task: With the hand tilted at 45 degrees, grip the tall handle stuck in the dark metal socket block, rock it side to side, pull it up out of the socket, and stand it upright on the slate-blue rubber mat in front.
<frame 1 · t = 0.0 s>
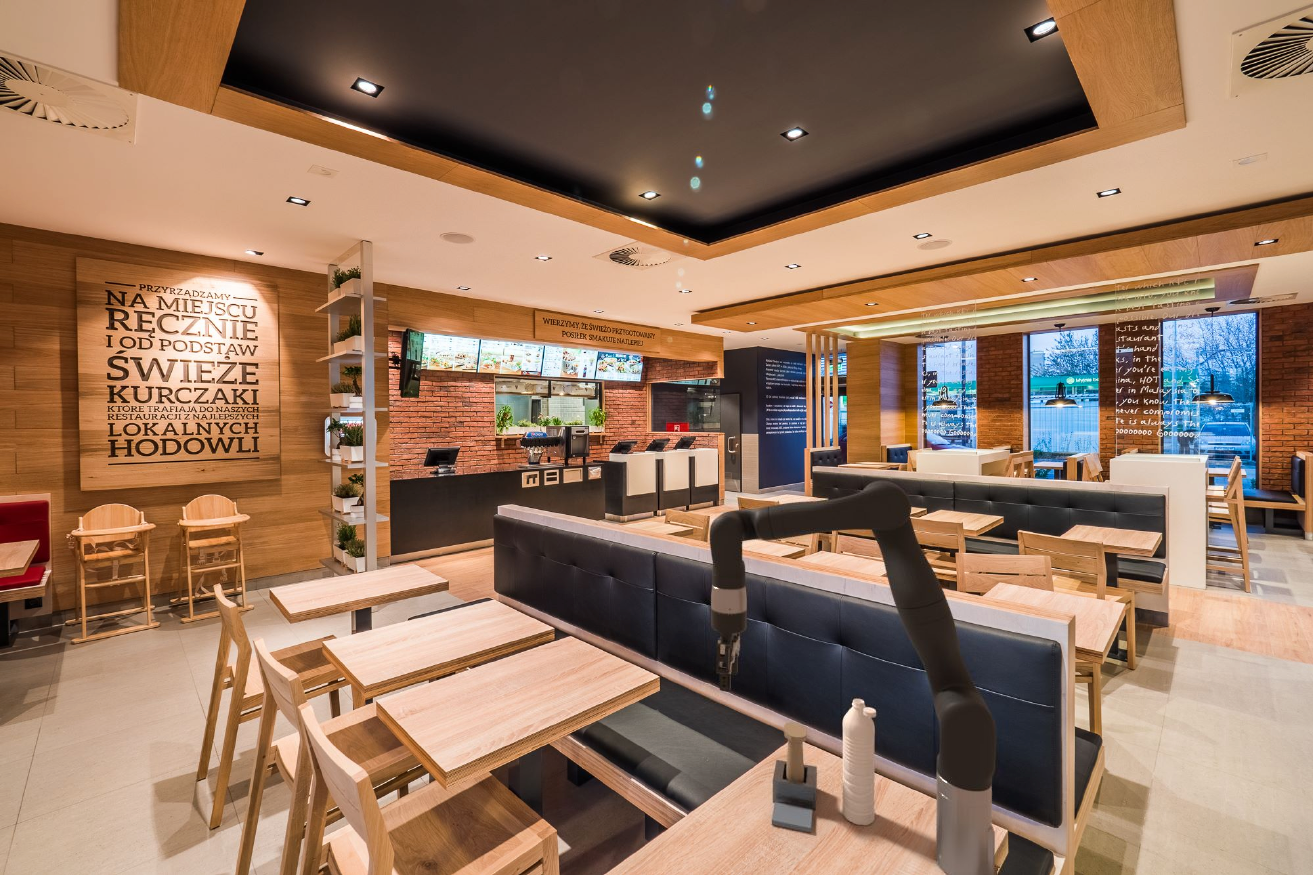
hand: (728, 681, 121), 29 cm above the table, tool pointing down, fingers open, 8 cm apart
handle: (795, 795, 129), resting in socket block
socket block: (795, 794, 129), on the table
rubber mat: (792, 819, 121), on the table
water bottle: (861, 820, 121), on the table
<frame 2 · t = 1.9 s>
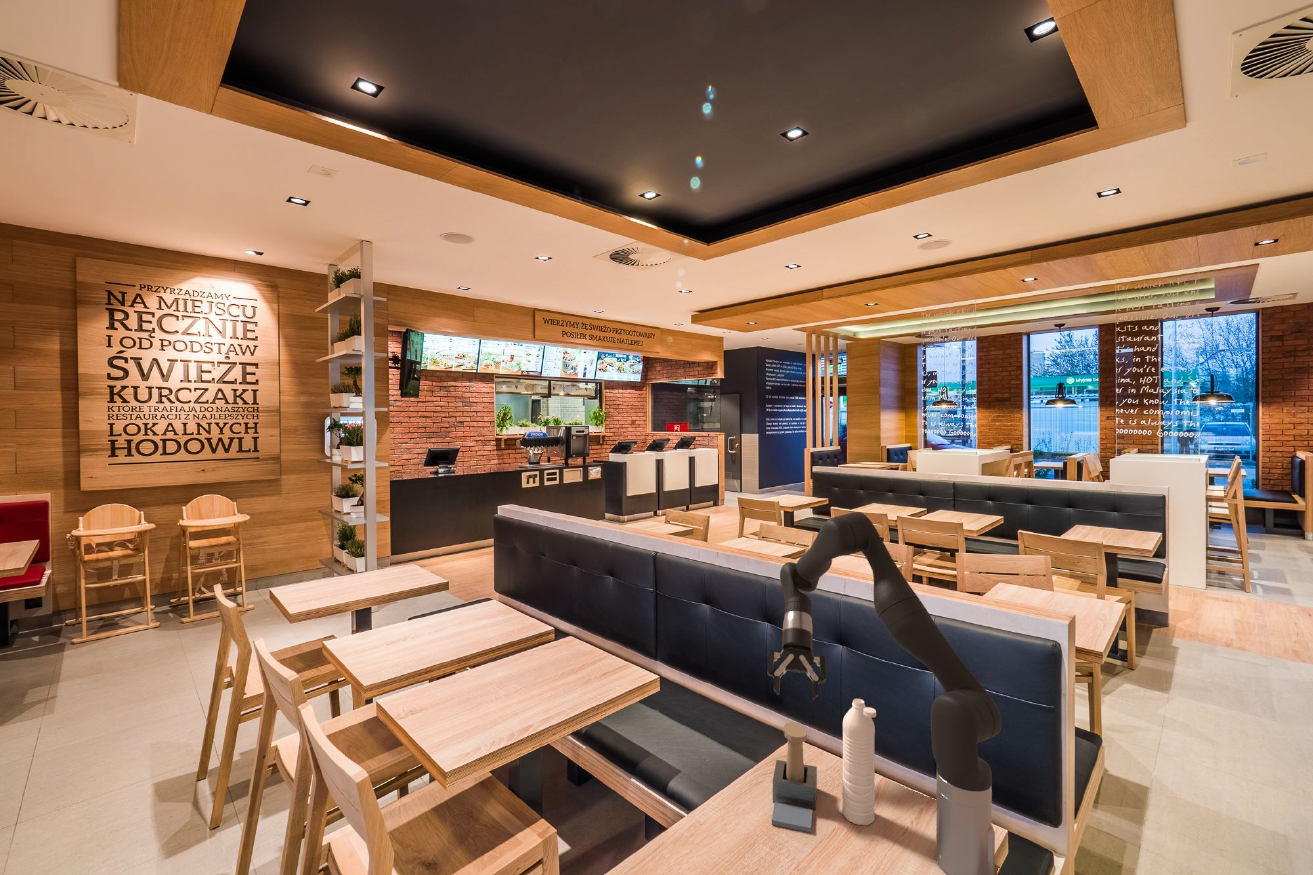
hand: (795, 696, 138), 18 cm above the table, tool tilted 45°, fingers open, 8 cm apart
nothing on the table moved.
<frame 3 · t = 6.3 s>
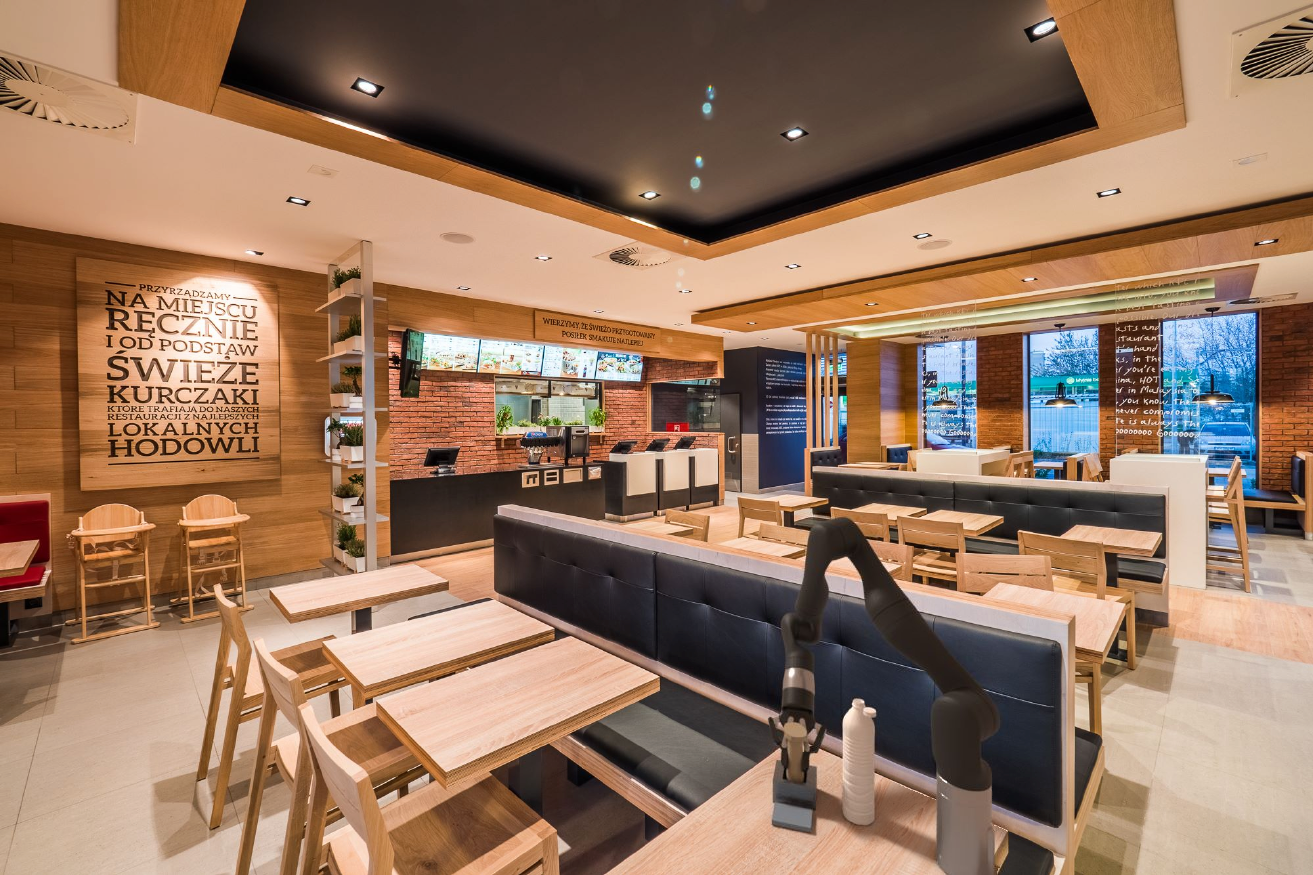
hand: (794, 769, 127), 7 cm above the table, tool tilted 45°, fingers closed on handle, 3 cm apart
handle: (795, 795, 129), resting in socket block, touching gripper
everything else where it was.
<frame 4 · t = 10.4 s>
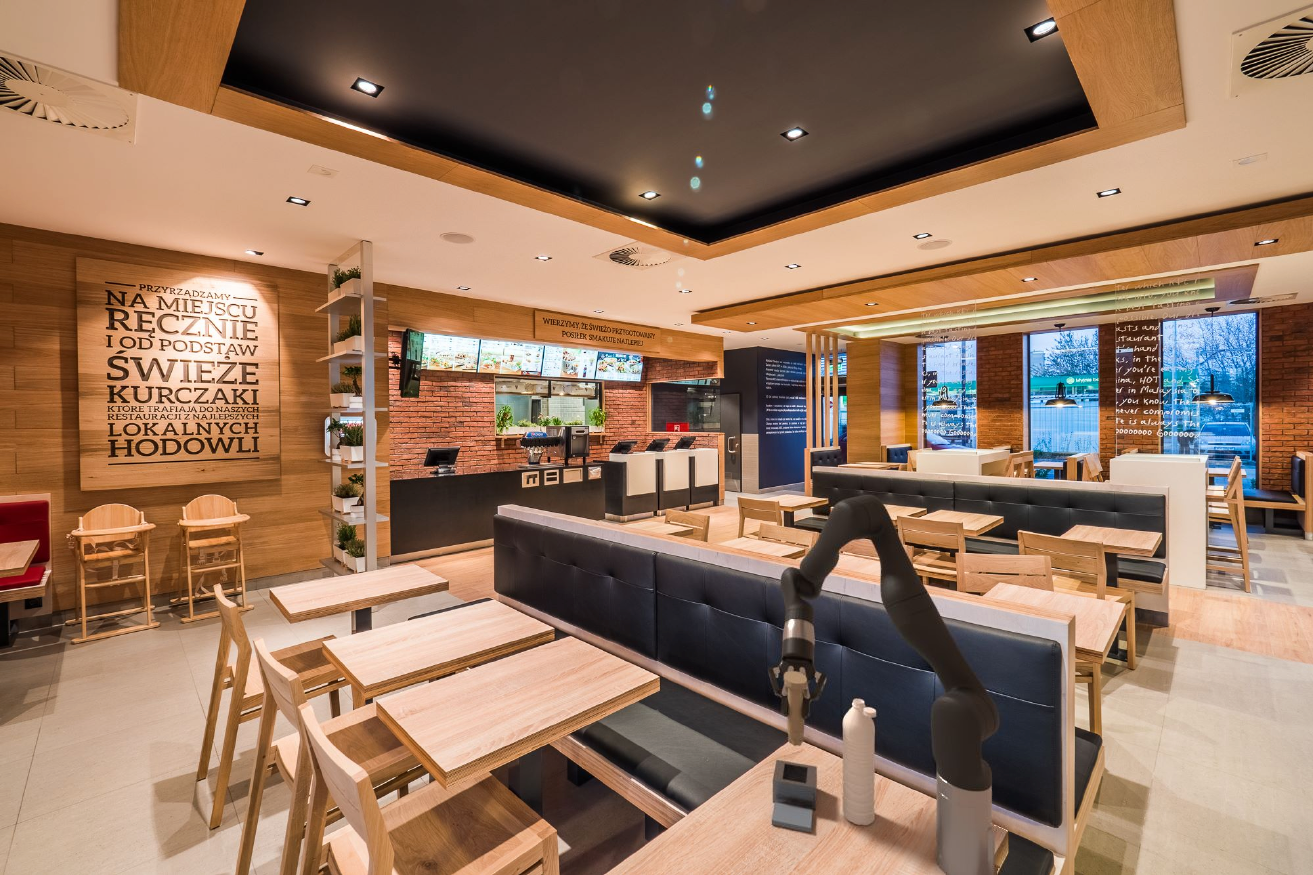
hand: (795, 716, 127), 19 cm above the table, tool tilted 45°, fingers closed on handle, 3 cm apart
handle: (795, 743, 129), point 12 cm above the table, touching gripper
everything else where it was.
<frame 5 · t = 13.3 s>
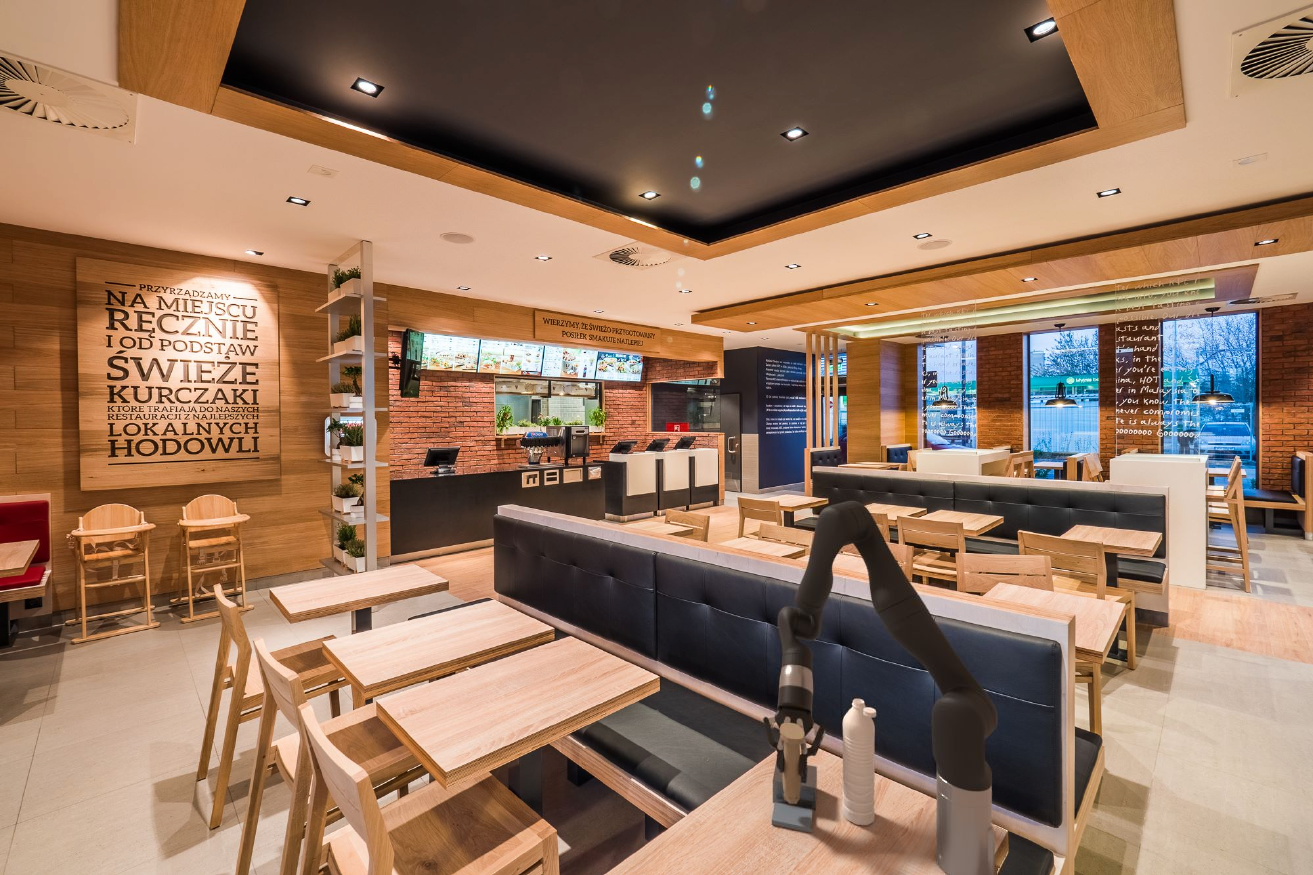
hand: (791, 773, 119), 11 cm above the table, tool tilted 45°, fingers closed on handle, 3 cm apart
handle: (791, 800, 121), point 4 cm above the table, touching gripper
everything else where it was.
when the fingers open (9 cm above the table, at t = 14.4 s): handle drops 1 cm, resting on rubber mat.
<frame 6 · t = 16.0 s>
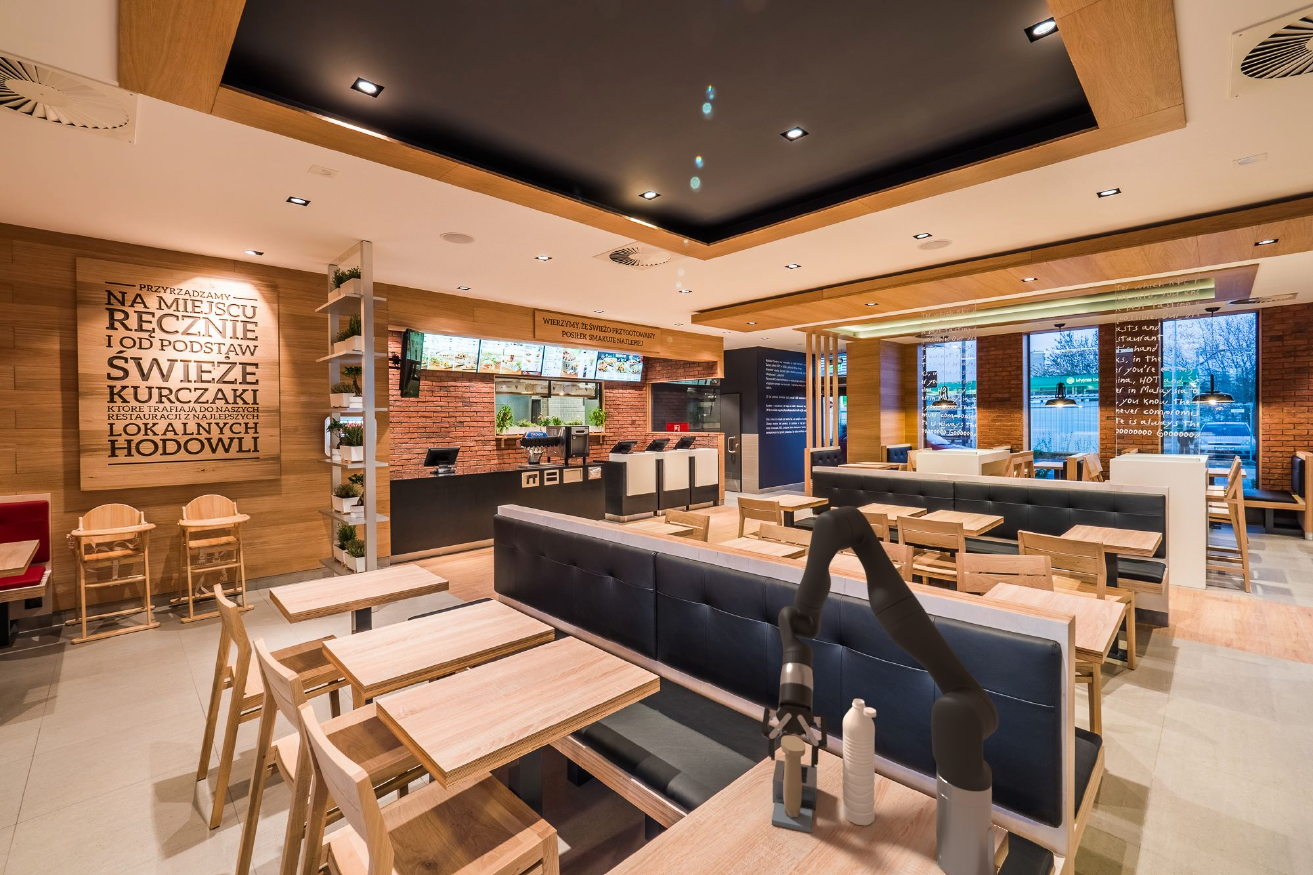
hand: (792, 763, 123), 11 cm above the table, tool tilted 45°, fingers open, 8 cm apart
handle: (792, 814, 121), point 1 cm above the table, touching rubber mat
everything else where it was.
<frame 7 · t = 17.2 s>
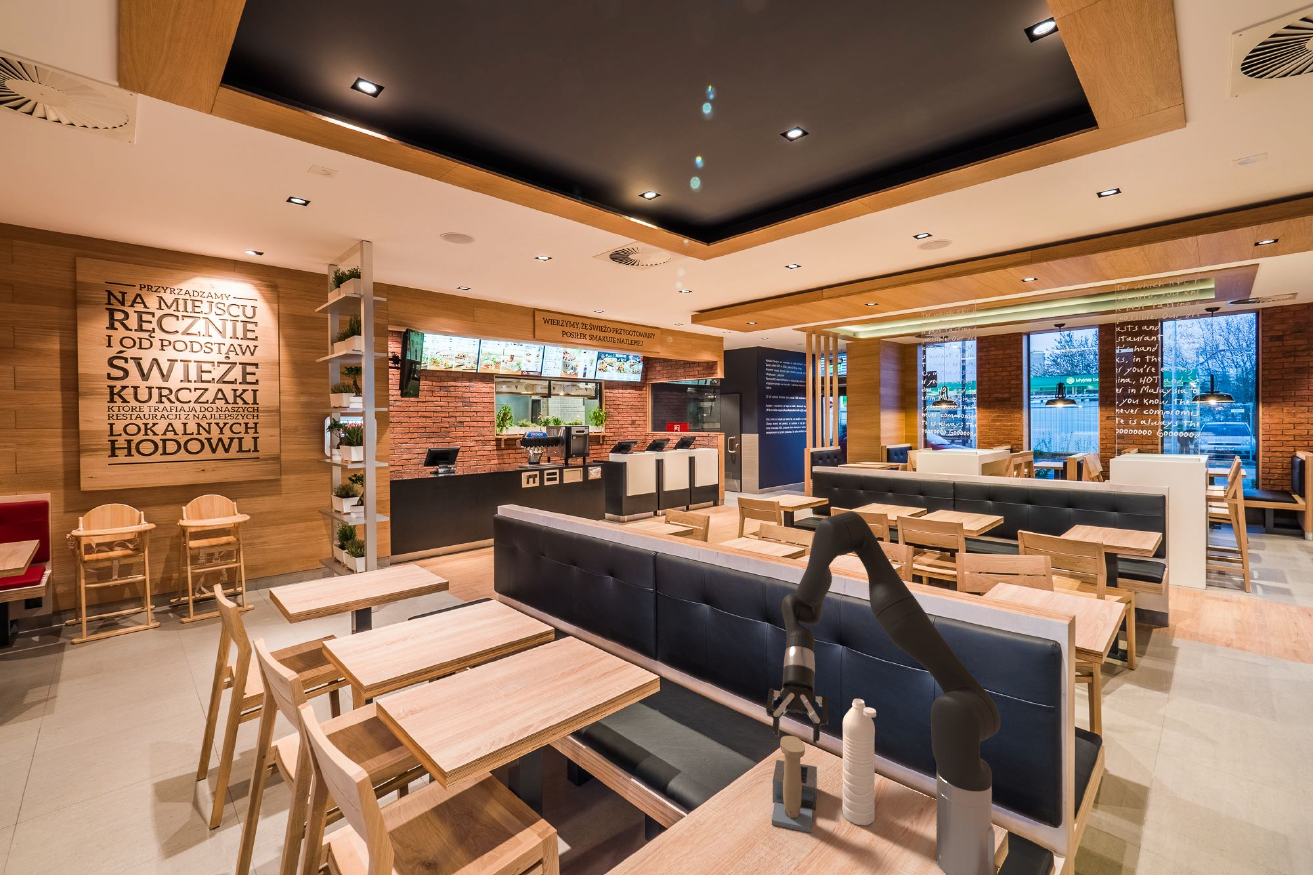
hand: (795, 739, 131), 12 cm above the table, tool tilted 45°, fingers open, 8 cm apart
nothing on the table moved.
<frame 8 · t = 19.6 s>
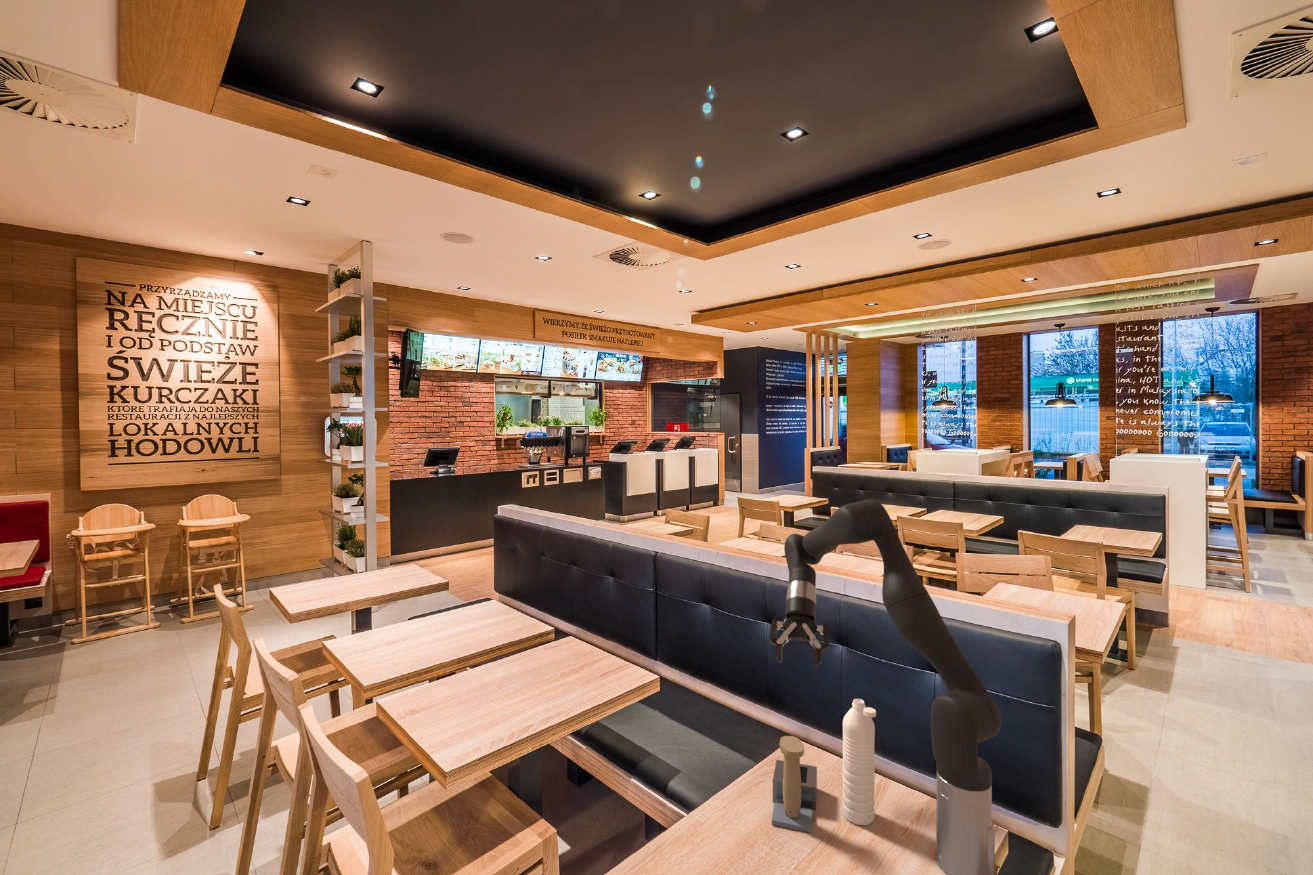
hand: (797, 663, 137), 27 cm above the table, tool tilted 45°, fingers open, 8 cm apart
nothing on the table moved.
at the end: handle inside the target area (0.2 cm from its centre), point 0.8 cm above the table; handle tilted 1°; the gripper is holding nothing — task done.
